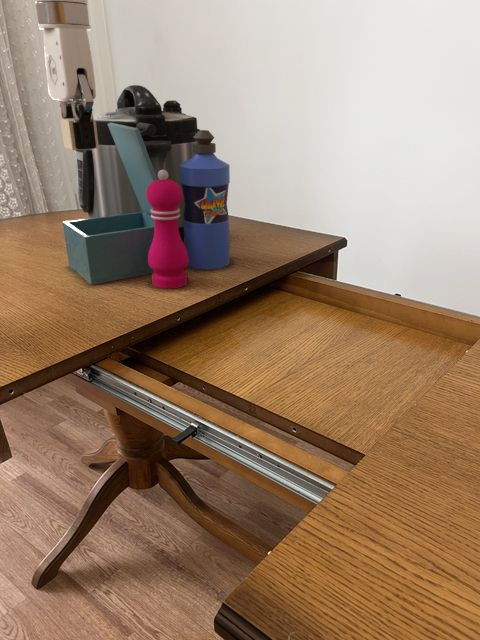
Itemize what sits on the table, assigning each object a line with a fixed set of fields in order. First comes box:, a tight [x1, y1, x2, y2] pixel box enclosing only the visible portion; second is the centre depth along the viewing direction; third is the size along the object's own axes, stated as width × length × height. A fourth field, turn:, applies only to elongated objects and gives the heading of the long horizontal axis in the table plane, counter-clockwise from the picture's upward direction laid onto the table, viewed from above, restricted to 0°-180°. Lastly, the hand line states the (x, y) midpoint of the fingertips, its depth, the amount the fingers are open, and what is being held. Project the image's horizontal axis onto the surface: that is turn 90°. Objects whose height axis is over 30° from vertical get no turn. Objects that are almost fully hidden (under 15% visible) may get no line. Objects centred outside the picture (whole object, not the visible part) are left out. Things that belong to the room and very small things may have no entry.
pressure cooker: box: [74, 84, 201, 239], centre depth 124 cm, size 30×28×32 cm
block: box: [59, 118, 99, 151], centre depth 90 cm, size 4×4×4 cm
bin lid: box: [108, 122, 158, 214], centre depth 103 cm, size 17×13×5 cm
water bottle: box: [180, 129, 231, 270], centre depth 105 cm, size 9×9×25 cm
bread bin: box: [62, 212, 155, 286], centre depth 105 cm, size 17×13×9 cm
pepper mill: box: [146, 170, 189, 290], centre depth 95 cm, size 7×7×20 cm
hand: (80, 145), depth 90 cm, fingers closed on block, 4 cm apart
